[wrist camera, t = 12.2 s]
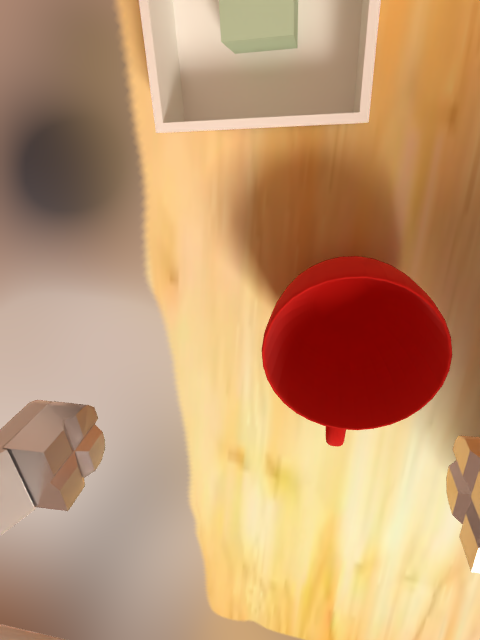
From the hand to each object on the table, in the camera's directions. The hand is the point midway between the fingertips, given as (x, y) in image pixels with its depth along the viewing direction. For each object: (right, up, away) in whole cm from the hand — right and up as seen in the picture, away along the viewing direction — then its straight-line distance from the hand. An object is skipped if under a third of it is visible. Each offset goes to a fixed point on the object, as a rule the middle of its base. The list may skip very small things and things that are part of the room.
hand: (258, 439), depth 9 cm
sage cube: (+1, +24, +17) cm, 30 cm away
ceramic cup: (+9, +3, +28) cm, 29 cm away
